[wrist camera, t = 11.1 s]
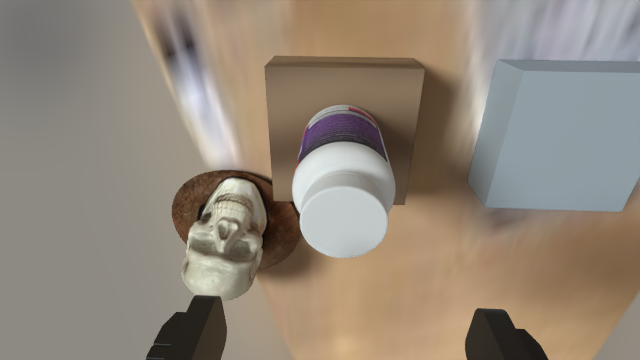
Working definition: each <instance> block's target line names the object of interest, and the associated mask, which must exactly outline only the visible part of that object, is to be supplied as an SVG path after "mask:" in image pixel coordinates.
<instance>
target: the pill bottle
mask: <svg viewBox="0 0 640 360" xmlns="http://www.w3.org/2000/svg"><path fill="white" fill-rule="evenodd" d="M292 195H293V200H294V203H295V206H296V208H297V210H298V211H299V213H300V229H301V231H302V234H303V236H304V238H305V240H306V241H307V242H308V243H309V245H311V246H312V247H313V248H314V249H316V250H317V251H319V252H321V253H323V254H325V255H328V256H331V257H335V258H352V257H357V256H361V255H363V254H366V253H368V252H370V251H371V250H373V249H374V248H375V247H377V246H378V245H379V244H380V243H381V241H382V240H383V238H384V237H385V235H386V232H387V229H388V212H389V211H390V209H391V207H392V205H393V202H394V198H395V180H394V176H393V172H392V169H391V166H390V162H389V159H388V156H387V153H386V150H385V146H384V143H383V139H382V136H381V133H380V130H379V127H378V125H377V124H376V122H375V121H374V119H373V118H372V117H371V116H370V115H369V114H368V113H366V112H365V111H363V110H362V109H360V108H357V107H355V106H351V105H335V106H331V107H328V108H325V109H323V110H322V111H320V112H318V113H317V114H316V115H315V116H314V117H313V118H312V119H311V120H310V122H309V123H308V125H307V127H306V129H305V131H304V134H303V138H302V142H301V147H300V152H299V156H298V161H297V165H296V169H295V174H294V178H293V184H292Z"/></svg>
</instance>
